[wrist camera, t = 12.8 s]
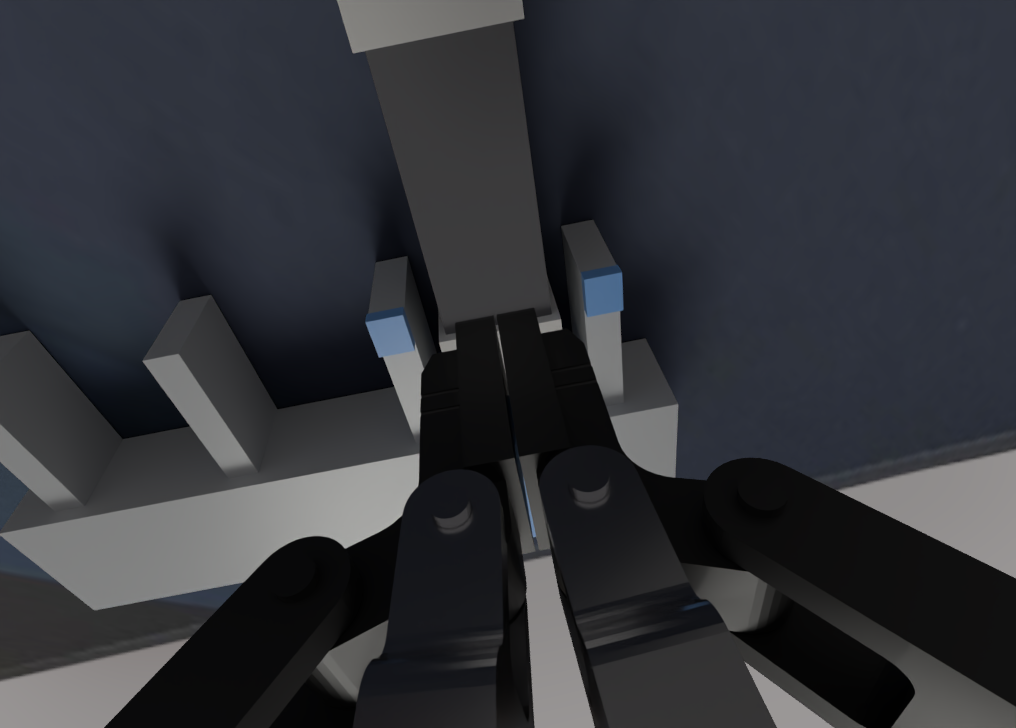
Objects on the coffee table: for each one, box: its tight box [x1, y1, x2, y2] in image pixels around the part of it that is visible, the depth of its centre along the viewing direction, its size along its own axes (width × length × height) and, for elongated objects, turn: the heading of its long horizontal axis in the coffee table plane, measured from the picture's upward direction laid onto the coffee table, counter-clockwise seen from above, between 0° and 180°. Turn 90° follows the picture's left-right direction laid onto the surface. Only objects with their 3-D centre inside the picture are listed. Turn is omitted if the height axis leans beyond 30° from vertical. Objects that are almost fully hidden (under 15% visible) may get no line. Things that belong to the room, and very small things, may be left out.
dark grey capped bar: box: [337, 0, 562, 373], centre depth 15 cm, size 12×3×3 cm, turn 9°
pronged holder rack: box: [0, 220, 678, 610], centre depth 19 cm, size 10×22×4 cm, turn 99°
